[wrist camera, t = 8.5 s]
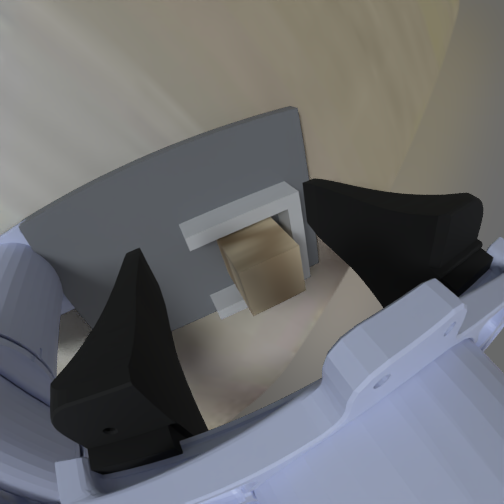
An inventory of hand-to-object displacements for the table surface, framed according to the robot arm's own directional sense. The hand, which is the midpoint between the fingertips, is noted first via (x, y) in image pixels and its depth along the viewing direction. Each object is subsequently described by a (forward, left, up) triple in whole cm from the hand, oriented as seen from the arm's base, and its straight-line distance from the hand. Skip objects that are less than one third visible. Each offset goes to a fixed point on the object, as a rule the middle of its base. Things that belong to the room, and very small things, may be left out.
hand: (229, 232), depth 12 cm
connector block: (+2, -7, -8) cm, 11 cm away
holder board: (-2, -5, -9) cm, 10 cm away
